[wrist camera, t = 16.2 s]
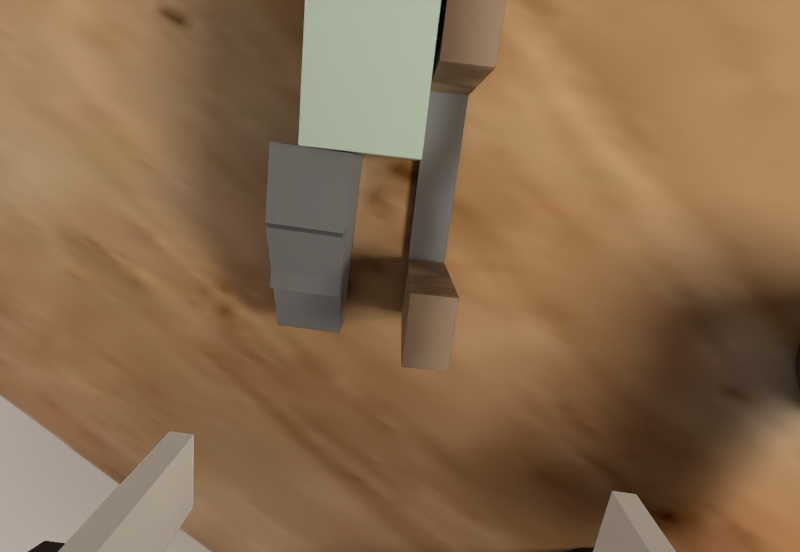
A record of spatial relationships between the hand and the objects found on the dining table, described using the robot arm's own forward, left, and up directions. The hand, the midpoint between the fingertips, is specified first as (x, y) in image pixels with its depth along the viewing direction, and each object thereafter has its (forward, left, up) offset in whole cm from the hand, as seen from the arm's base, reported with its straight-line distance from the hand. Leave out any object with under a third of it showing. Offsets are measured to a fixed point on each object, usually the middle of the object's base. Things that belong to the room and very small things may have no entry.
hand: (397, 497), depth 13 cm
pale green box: (+3, -18, -24) cm, 30 cm away
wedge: (+7, -3, -24) cm, 25 cm away
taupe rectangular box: (-2, -12, -24) cm, 26 cm away
